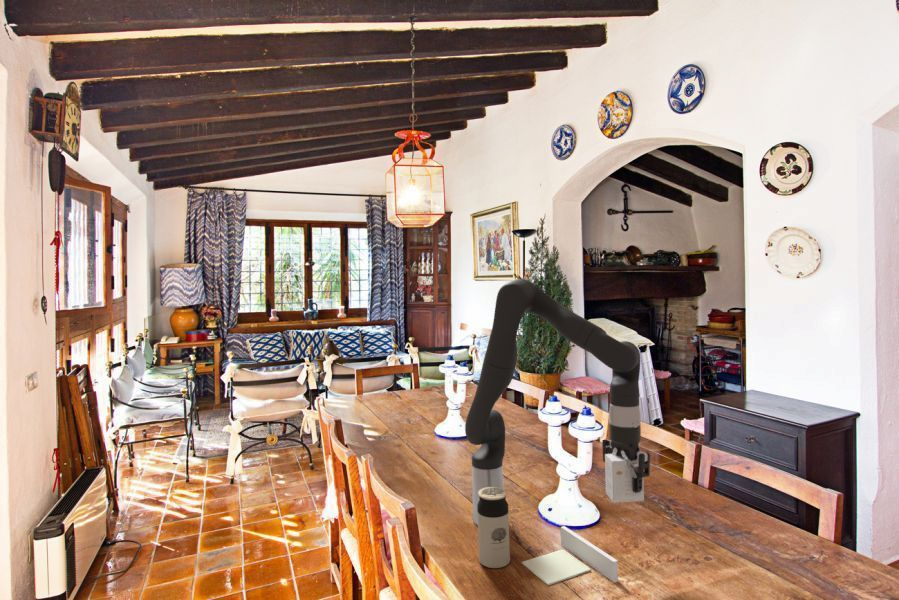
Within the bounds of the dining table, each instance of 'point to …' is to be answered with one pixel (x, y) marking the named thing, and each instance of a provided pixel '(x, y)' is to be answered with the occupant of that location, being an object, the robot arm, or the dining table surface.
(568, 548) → the white wall
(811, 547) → the dining table surface
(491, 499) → the travel mug
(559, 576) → the sage mat
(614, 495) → the small box
